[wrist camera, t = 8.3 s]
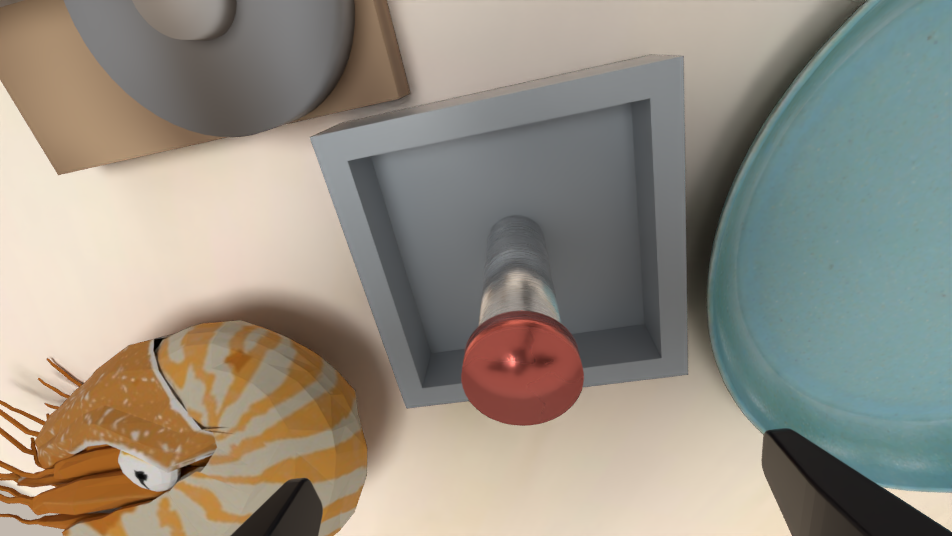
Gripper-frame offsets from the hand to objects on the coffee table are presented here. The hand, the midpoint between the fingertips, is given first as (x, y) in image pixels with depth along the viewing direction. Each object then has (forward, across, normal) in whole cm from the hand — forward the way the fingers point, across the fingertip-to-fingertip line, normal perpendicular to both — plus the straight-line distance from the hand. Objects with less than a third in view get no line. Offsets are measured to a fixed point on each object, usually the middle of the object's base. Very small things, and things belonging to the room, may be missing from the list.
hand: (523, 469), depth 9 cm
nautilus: (+12, +19, +6) cm, 23 cm away
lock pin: (+11, 0, 0) cm, 11 cm away
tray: (+12, 0, 0) cm, 12 cm away
